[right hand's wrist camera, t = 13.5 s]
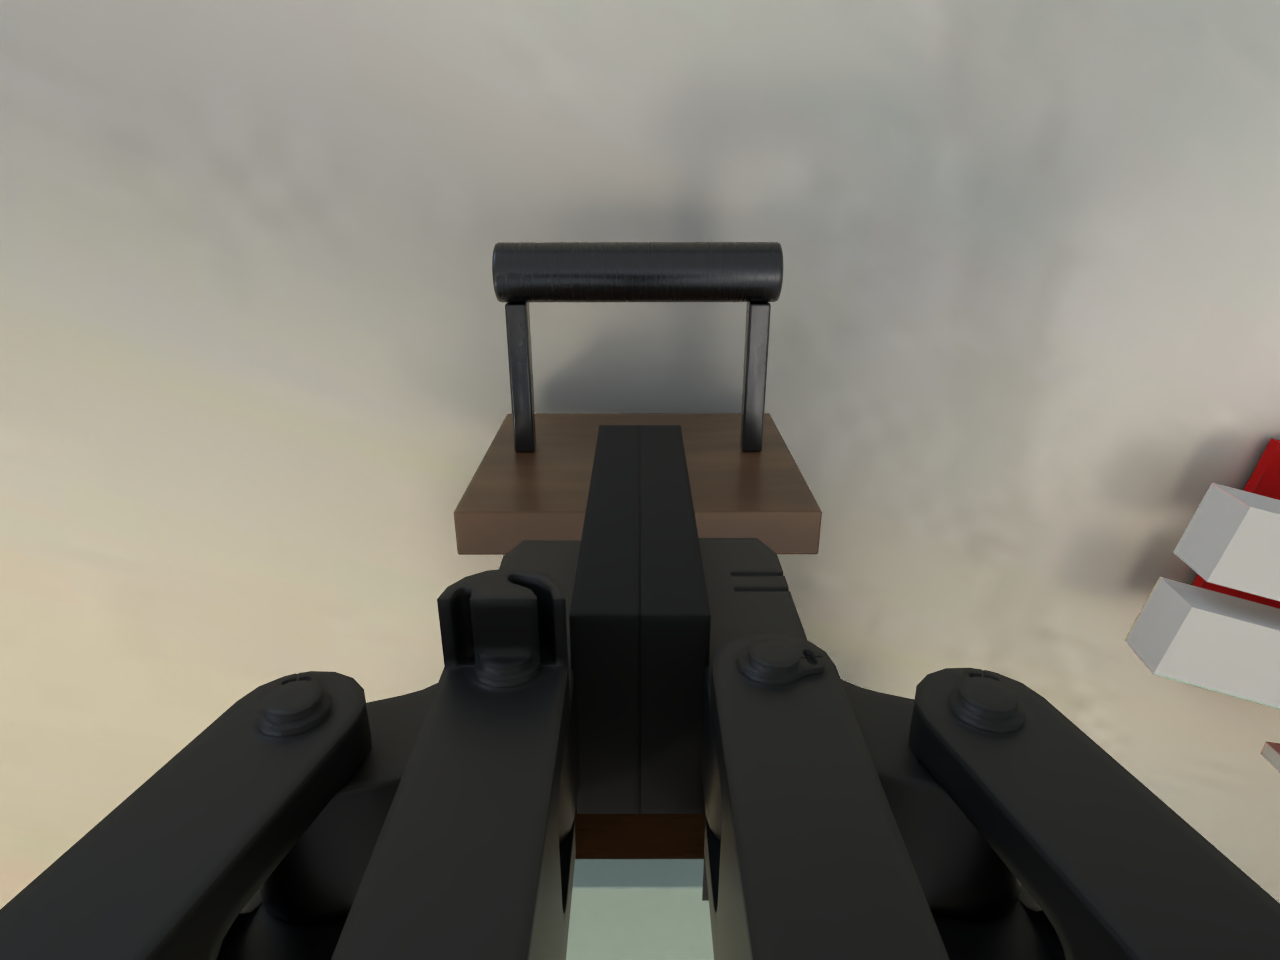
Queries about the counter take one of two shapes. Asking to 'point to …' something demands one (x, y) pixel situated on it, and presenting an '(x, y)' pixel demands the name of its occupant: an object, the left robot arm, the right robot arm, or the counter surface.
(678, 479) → the right robot arm
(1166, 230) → the counter surface
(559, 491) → the drawer
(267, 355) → the counter surface
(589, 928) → the sage green rectangular box
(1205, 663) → the toy
